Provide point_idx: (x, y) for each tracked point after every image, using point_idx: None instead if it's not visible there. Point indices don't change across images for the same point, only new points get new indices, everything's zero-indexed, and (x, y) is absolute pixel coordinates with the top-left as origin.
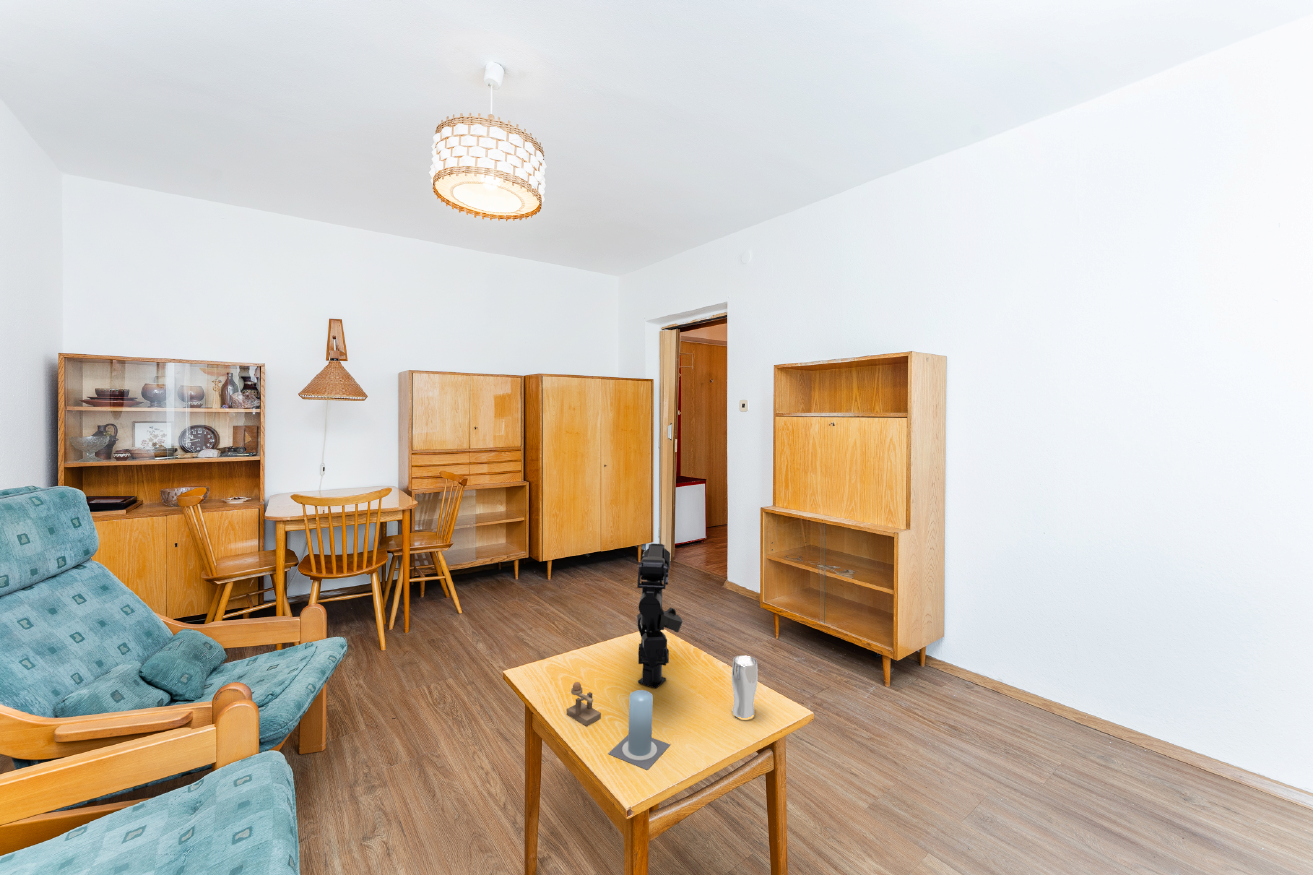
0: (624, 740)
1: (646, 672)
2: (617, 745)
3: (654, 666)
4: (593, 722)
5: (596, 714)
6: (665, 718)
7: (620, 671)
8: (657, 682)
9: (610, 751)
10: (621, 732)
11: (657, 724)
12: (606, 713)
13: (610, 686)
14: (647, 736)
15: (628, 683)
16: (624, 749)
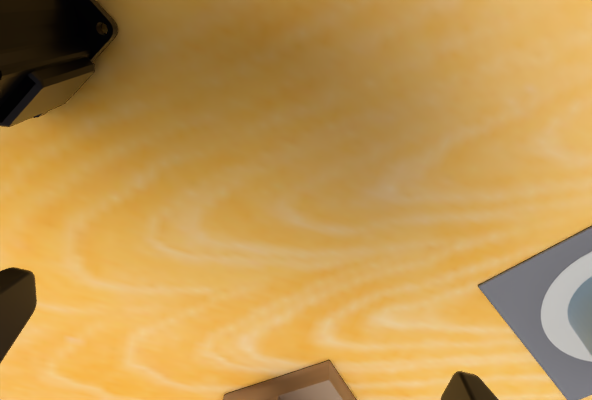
0: (529, 335)
1: (31, 105)
2: (545, 365)
3: (487, 391)
4: (347, 387)
5: (334, 395)
6: (459, 100)
7: None
8: (67, 2)
9: (563, 392)
10: (464, 325)
11: (490, 164)
12: (300, 333)
13: (71, 256)
14: None
15: (44, 166)
16: (587, 353)
